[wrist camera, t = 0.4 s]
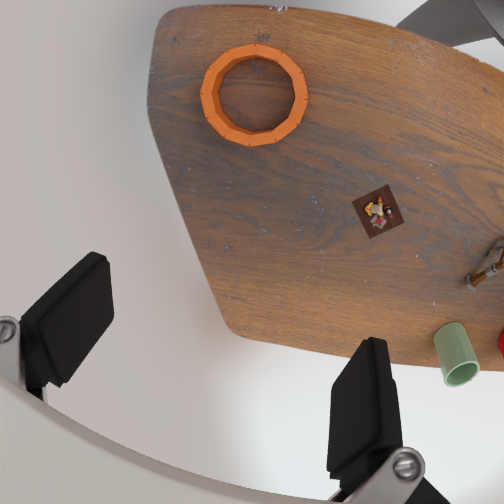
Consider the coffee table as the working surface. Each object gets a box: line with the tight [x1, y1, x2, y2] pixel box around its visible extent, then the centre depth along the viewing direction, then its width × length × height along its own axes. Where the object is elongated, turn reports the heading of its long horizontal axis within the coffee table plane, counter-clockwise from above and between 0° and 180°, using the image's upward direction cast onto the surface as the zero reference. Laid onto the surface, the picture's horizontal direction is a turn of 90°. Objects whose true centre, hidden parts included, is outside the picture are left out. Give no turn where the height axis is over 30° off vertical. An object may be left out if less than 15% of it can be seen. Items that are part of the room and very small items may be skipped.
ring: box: [200, 44, 309, 147], centre depth 27 cm, size 10×10×2 cm
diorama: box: [352, 185, 404, 238], centre depth 31 cm, size 3×4×2 cm
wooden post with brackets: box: [466, 237, 504, 292], centre depth 30 cm, size 2×8×4 cm, turn 155°
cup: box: [433, 322, 480, 387], centre depth 35 cm, size 6×6×8 cm
